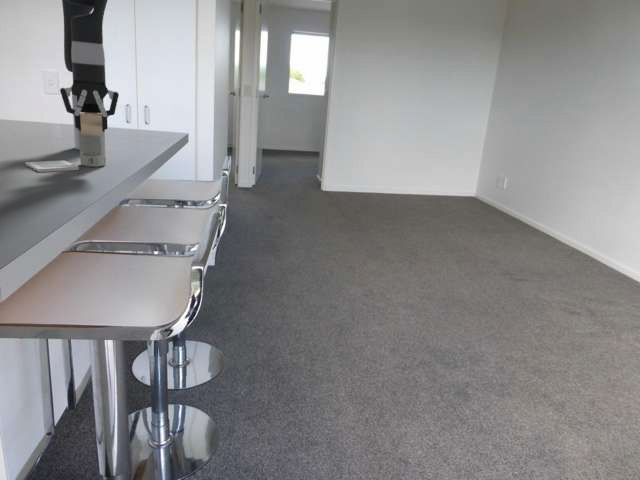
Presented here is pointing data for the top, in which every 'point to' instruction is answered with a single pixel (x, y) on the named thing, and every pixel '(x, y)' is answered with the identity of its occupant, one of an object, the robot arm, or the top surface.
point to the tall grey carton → (92, 143)
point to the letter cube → (91, 123)
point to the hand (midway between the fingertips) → (91, 130)
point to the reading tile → (52, 166)
